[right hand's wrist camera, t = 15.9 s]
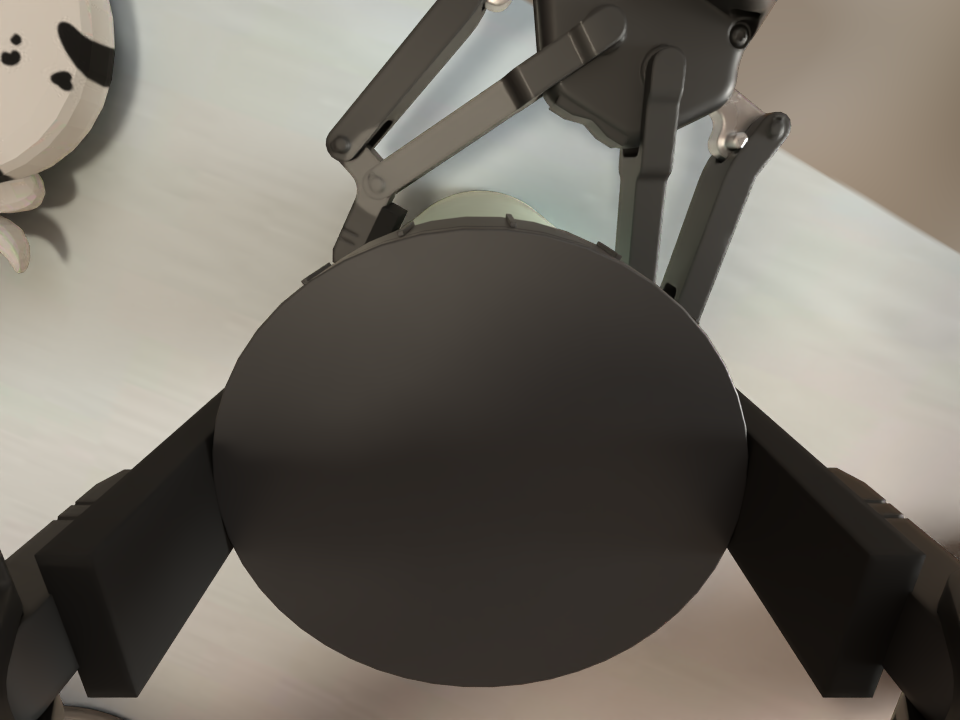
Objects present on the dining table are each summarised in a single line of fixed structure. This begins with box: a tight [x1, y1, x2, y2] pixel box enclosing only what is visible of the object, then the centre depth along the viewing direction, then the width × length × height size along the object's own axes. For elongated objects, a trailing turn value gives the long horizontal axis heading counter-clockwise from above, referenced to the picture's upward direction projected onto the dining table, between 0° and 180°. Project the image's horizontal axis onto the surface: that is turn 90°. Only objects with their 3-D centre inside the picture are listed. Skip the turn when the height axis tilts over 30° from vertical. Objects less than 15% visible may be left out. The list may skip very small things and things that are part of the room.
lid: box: [212, 214, 748, 687], centre depth 11 cm, size 11×11×2 cm
